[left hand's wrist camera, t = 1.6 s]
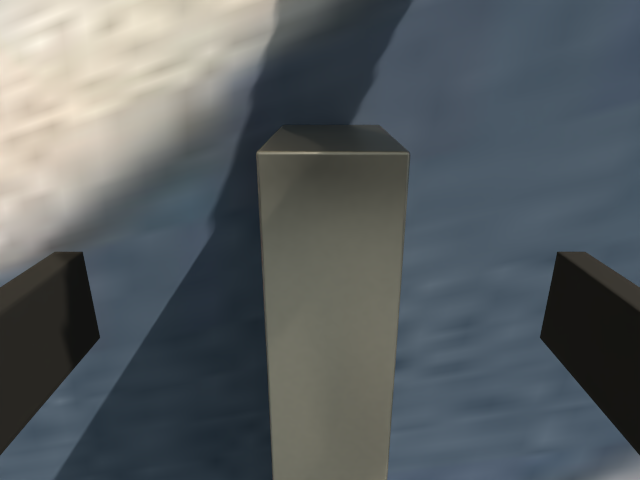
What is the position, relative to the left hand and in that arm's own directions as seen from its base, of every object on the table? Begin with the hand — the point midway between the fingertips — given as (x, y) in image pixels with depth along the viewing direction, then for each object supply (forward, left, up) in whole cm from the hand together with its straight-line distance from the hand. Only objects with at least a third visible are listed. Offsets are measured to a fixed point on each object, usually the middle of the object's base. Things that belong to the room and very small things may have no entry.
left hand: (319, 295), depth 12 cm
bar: (+2, +8, -10) cm, 13 cm away
